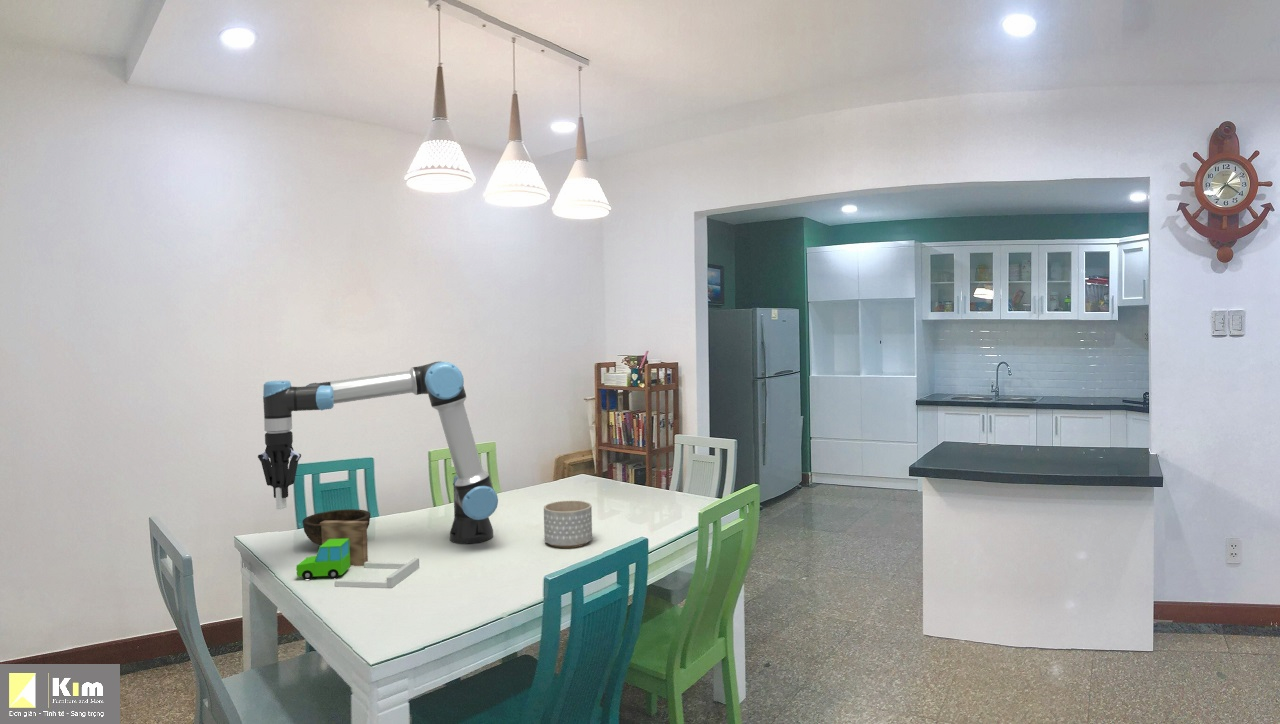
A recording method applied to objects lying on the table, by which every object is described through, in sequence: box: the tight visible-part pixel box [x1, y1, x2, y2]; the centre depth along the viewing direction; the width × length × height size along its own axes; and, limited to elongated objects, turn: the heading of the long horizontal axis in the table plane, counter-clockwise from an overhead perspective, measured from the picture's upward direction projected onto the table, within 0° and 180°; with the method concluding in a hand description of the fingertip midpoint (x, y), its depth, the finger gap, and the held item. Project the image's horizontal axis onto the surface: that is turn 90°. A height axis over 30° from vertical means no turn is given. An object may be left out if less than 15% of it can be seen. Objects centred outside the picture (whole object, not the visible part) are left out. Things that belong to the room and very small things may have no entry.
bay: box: [334, 557, 420, 589], centre depth 214 cm, size 18×18×3 cm
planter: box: [543, 500, 593, 549], centre depth 246 cm, size 16×16×13 cm
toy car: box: [295, 538, 351, 580], centre depth 216 cm, size 10×13×10 cm
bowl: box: [301, 509, 371, 547], centre depth 248 cm, size 22×22×10 cm
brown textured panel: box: [320, 520, 369, 567], centre depth 226 cm, size 15×3×14 cm, turn 83°
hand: (281, 508), depth 217 cm, fingers closed
